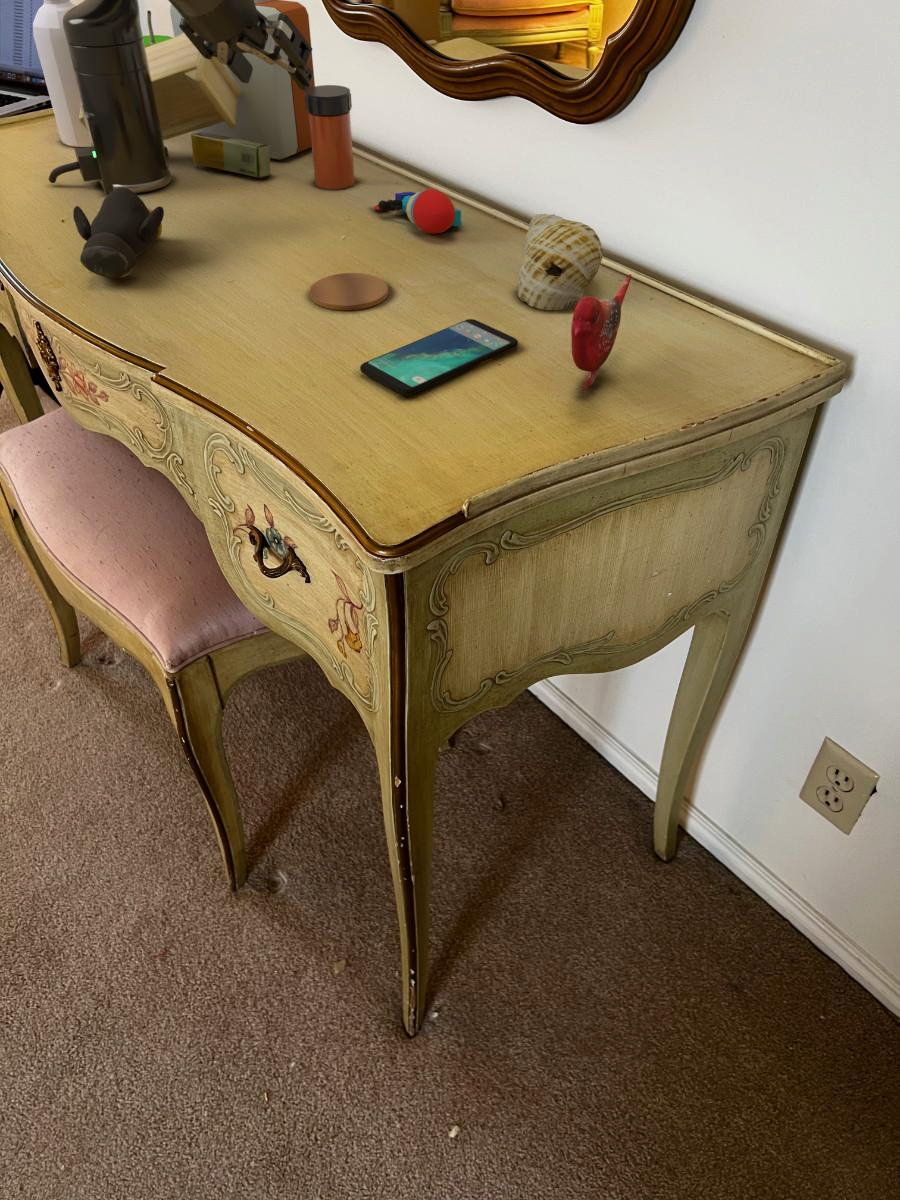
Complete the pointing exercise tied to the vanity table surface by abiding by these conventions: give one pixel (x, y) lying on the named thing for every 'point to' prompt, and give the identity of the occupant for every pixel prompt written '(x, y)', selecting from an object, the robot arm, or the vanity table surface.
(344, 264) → the vanity table surface
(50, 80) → the soap bottle
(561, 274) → the seashell
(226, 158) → the medication box
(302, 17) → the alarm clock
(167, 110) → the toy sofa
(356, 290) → the coaster
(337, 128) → the jar
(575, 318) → the decorative bird figurine
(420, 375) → the smartphone
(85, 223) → the toy
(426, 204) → the toy figure
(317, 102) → the lid
